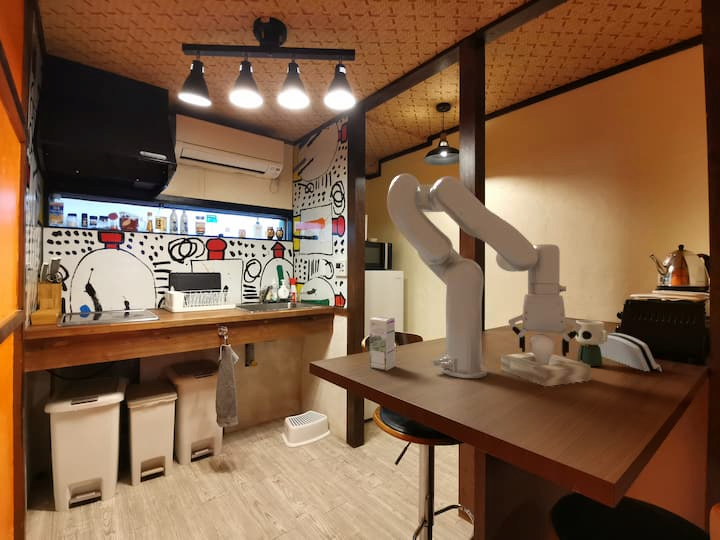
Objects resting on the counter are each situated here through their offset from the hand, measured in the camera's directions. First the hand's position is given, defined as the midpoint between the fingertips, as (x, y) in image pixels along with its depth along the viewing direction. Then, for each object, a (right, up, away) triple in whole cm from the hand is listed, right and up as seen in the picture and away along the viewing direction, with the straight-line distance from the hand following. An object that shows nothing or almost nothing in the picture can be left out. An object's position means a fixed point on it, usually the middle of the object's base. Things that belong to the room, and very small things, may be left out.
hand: (543, 353), depth 90 cm
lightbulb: (0, -6, 0) cm, 6 cm away
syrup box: (-43, -6, +7) cm, 44 cm away
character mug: (+19, -6, +9) cm, 22 cm away
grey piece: (+31, -6, +11) cm, 34 cm away
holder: (0, -6, 0) cm, 6 cm away
